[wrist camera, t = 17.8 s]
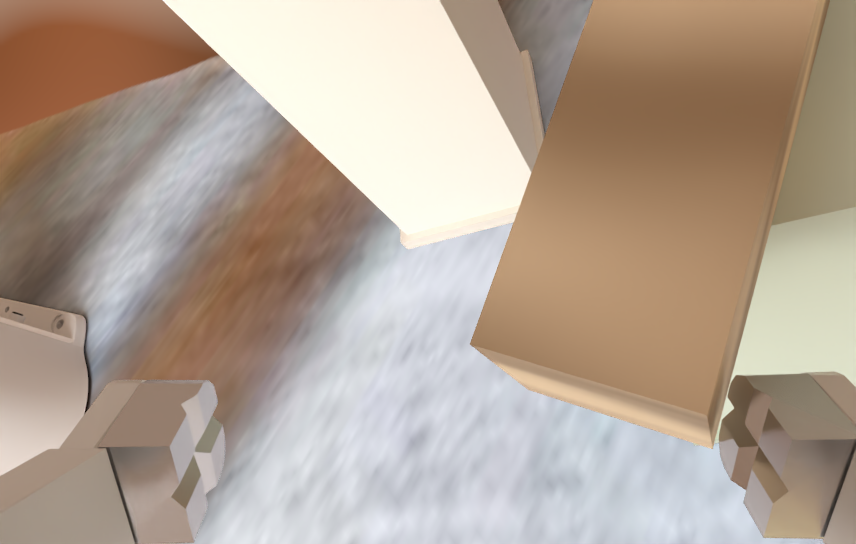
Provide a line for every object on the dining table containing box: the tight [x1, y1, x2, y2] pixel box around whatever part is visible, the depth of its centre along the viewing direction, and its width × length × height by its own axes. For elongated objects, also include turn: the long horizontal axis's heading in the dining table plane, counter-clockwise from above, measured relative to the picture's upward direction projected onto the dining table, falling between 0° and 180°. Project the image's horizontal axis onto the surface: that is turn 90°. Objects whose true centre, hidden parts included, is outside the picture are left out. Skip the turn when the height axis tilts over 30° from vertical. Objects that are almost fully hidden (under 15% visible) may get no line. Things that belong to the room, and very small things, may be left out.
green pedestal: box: [693, 0, 856, 446], centre depth 25 cm, size 13×11×26 cm
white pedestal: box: [163, 0, 545, 249], centre depth 37 cm, size 13×11×26 cm
